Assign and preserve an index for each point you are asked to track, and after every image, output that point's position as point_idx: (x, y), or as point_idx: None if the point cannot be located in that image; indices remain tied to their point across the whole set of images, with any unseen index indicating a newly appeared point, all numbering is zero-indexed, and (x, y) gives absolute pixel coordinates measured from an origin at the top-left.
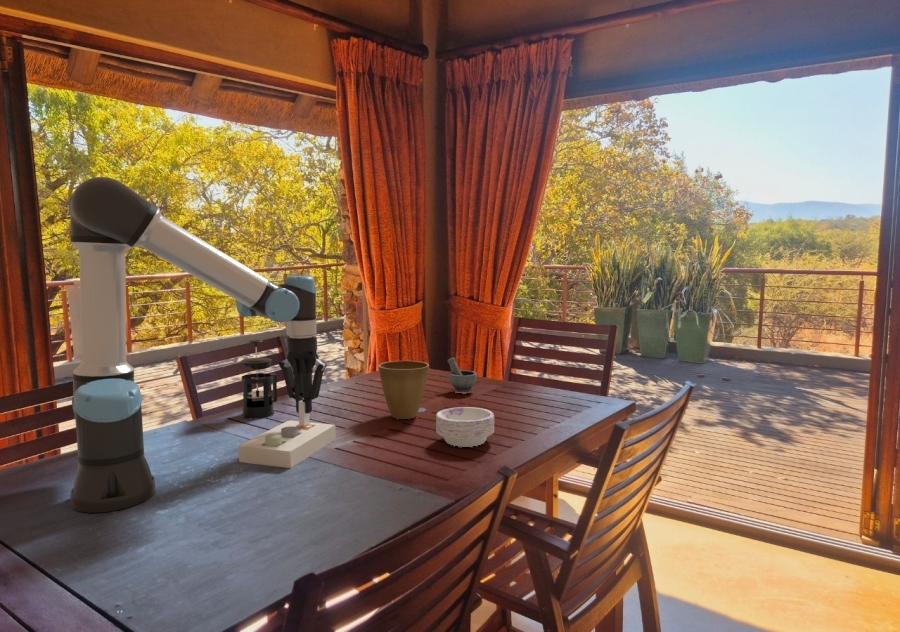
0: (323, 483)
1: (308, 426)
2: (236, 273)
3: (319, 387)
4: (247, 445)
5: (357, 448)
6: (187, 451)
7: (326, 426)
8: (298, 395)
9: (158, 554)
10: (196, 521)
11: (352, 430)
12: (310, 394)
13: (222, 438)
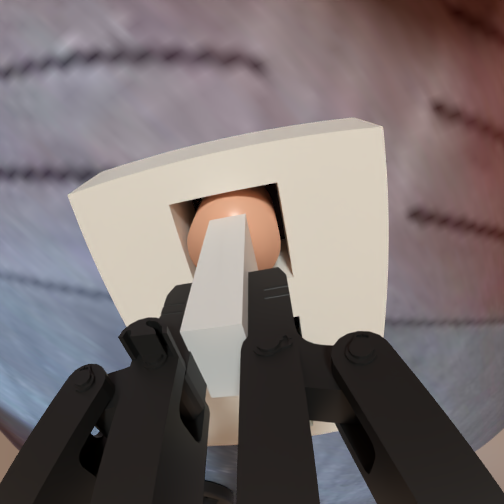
0: (454, 388)
1: (269, 246)
2: None
3: (451, 442)
4: (223, 441)
5: (477, 183)
6: (54, 392)
7: (353, 177)
8: (204, 442)
9: (345, 499)
10: (334, 486)
11: None
12: (346, 442)
13: (5, 310)
